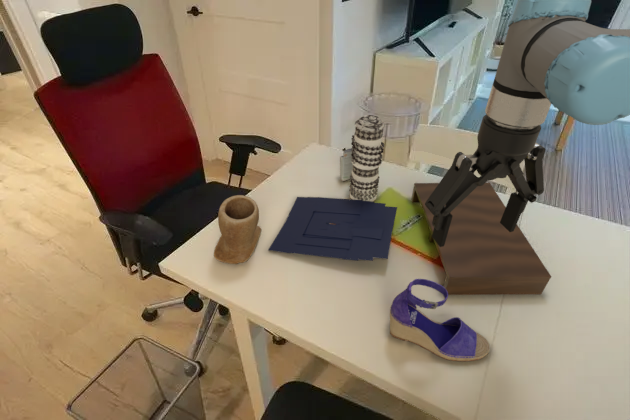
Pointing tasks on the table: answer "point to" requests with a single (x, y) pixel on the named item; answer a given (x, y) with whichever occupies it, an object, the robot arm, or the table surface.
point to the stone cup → (237, 229)
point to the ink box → (346, 165)
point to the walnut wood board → (484, 247)
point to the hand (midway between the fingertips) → (472, 234)
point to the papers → (337, 229)
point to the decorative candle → (366, 158)
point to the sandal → (434, 327)
